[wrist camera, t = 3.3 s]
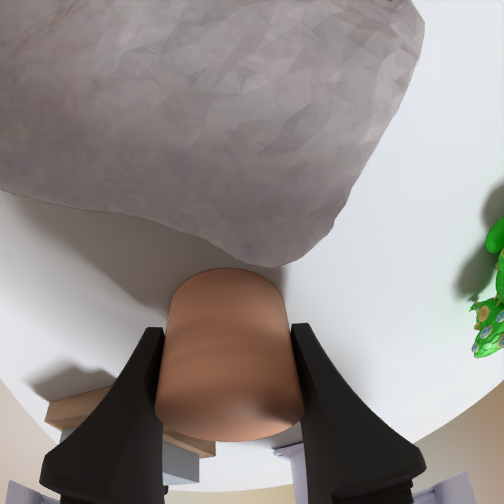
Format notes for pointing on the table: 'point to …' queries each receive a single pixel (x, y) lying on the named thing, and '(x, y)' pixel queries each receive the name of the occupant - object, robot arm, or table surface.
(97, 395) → the tower base
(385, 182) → the table surface
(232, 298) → the brown cylinder
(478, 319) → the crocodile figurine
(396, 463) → the robot arm
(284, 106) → the stone block
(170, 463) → the tower top
